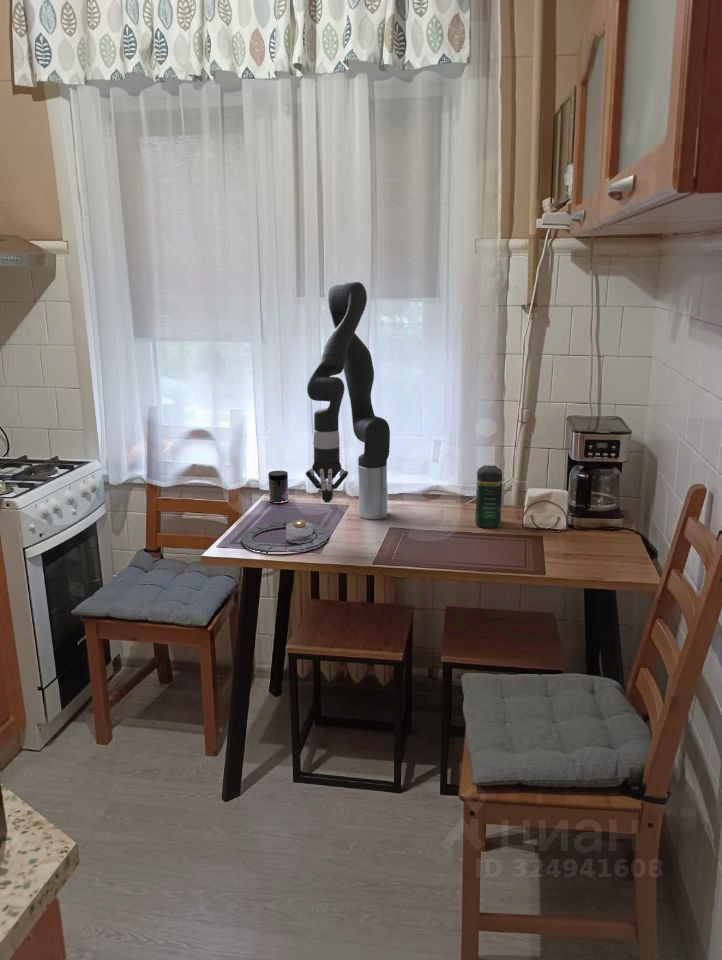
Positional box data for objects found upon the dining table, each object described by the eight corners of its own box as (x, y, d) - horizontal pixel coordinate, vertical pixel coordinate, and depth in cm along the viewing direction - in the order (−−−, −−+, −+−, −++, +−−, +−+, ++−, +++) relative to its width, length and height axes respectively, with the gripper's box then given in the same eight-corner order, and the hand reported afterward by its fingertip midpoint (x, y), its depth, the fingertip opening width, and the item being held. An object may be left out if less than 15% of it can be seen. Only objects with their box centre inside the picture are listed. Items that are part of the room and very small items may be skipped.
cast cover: (314, 535, 242) (314, 517, 241) (311, 544, 235) (310, 526, 233) (289, 535, 243) (288, 517, 241) (284, 544, 235) (283, 526, 234)
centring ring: (332, 525, 250) (332, 522, 250) (321, 555, 226) (321, 551, 225) (252, 524, 253) (252, 521, 252) (232, 553, 228) (232, 550, 227)
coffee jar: (501, 529, 245) (503, 471, 240) (475, 528, 246) (477, 471, 241) (500, 519, 254) (502, 463, 249) (475, 518, 255) (476, 463, 250)
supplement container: (281, 505, 272) (280, 476, 269) (265, 503, 275) (264, 474, 272) (292, 500, 278) (291, 471, 275) (276, 497, 281) (275, 469, 278)
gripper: (350, 442, 233) (350, 498, 238) (306, 441, 234) (307, 497, 239) (347, 448, 226) (347, 506, 231) (302, 447, 227) (303, 504, 232)
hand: (327, 501), depth 235 cm, fingers closed
